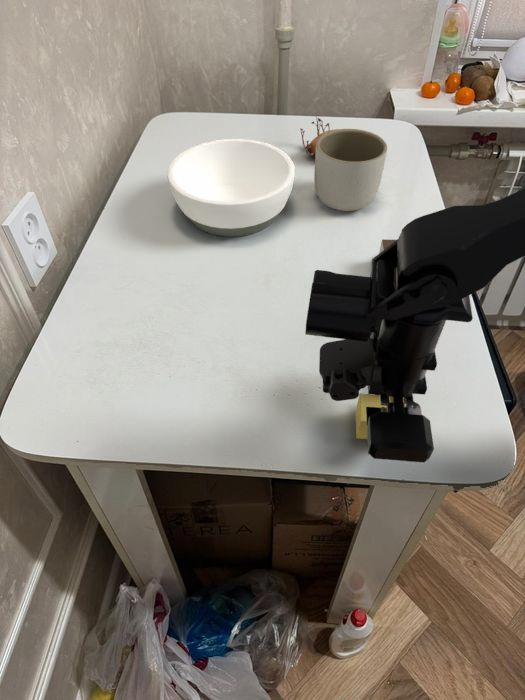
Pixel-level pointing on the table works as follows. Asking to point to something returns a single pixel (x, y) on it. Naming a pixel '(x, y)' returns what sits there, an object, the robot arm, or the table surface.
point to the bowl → (231, 185)
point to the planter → (348, 168)
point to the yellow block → (361, 417)
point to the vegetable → (312, 146)
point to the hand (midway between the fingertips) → (381, 422)
